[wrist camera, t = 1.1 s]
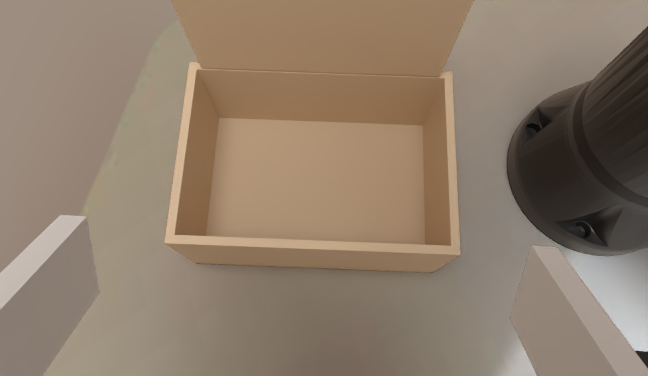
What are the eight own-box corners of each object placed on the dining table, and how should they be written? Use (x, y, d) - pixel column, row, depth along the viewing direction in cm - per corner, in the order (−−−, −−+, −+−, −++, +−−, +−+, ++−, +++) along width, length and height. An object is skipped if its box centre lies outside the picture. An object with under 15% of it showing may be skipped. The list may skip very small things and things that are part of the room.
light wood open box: (427, 122, 45) (452, 71, 37) (431, 272, 41) (460, 254, 33) (214, 114, 46) (189, 62, 37) (197, 263, 41) (164, 243, 33)
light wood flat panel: (439, 68, 37) (492, -55, 25) (439, 77, 37) (493, -44, 25) (202, 60, 37) (148, -66, 25) (201, 68, 37) (146, -56, 25)
